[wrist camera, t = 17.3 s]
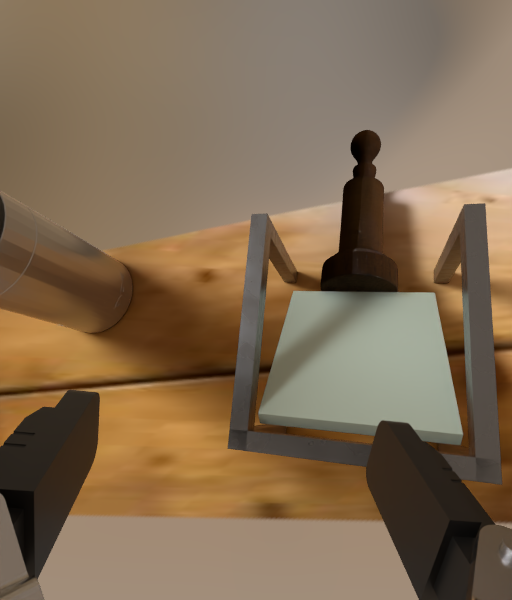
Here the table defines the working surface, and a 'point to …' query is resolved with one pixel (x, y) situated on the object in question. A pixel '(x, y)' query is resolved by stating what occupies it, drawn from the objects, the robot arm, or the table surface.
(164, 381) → the table surface
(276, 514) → the table surface
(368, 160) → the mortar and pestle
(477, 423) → the frame
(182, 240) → the table surface
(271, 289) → the table surface
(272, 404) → the trapdoor
